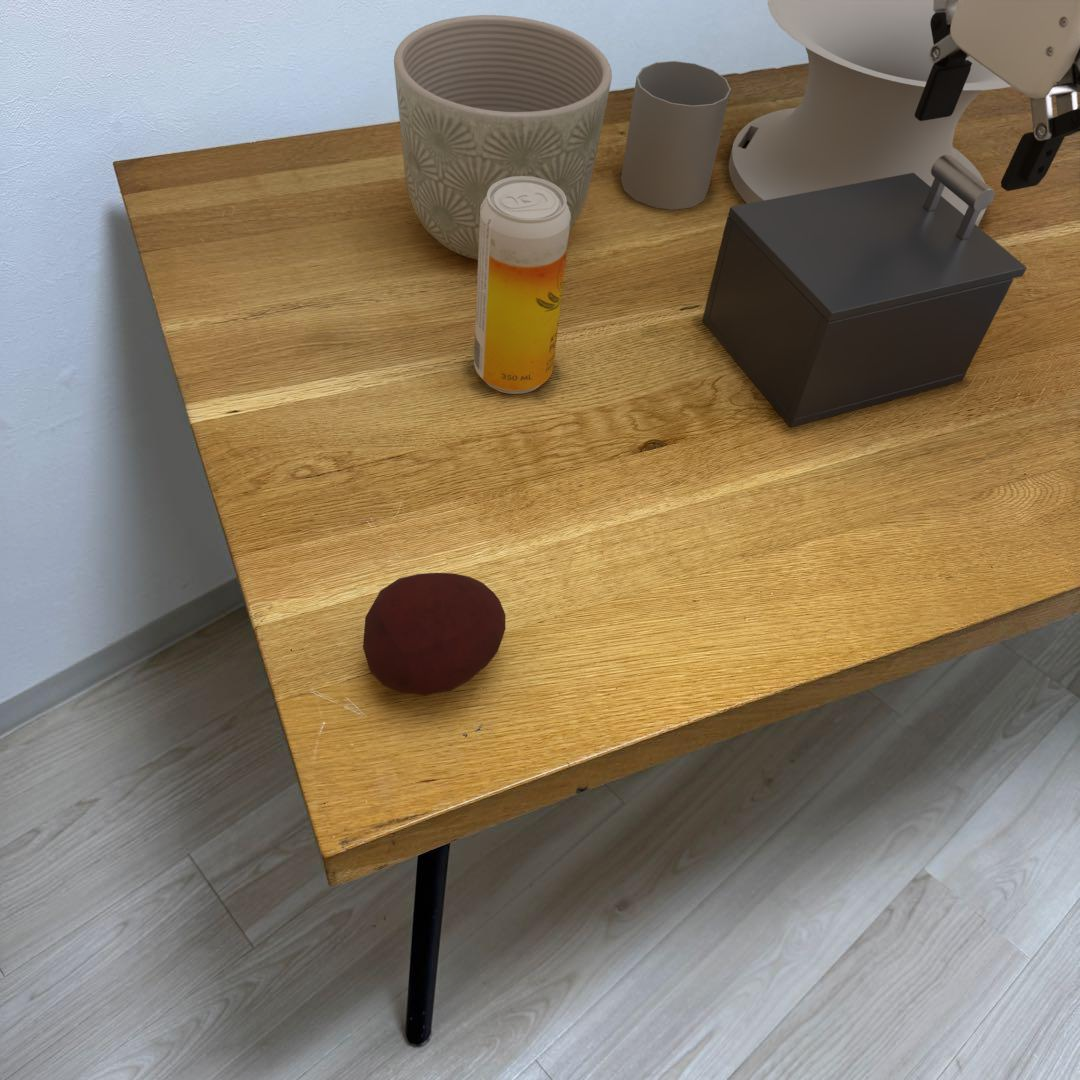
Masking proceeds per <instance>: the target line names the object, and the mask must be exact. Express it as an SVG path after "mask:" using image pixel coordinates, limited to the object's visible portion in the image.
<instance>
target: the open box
mask: <svg viewBox="0 0 1080 1080" xmlns="http://www.w3.org/2000/svg"><path fill="white" fill-rule="evenodd" d="M1013 281H1014V278H1013V279H1009V280H1004V281H1000V282H996V283H992V284H987V285H983V286H979V287H975V288H971V289H966V290H962V291H958V292H954V293H949V294H945V295H941V296H937V297H933V298H928V299H924V300H920V301H916V302H911V303H907V304H903V305H899V306H894V307H890V308H886V309H882V310H878V311H873V312H869V313H865V314H861V315H856V316H852V317H848V318H844V319H840V320H835V321H831V322H828V321H827V320H826V318H825V317H824V316H823V315H822V314H821V313H820V312H819V311H818V310H817V309H816V308H815V307H814V306H813V305H812V304H811V303H810V302H809V301H808V299H807V298H806V297H805V296H804V295H803V294H802V293H801V292H800V291H799V290H798V289H797V288H796V287H795V286H794V285H793V284H792V283H791V282H790V280H789V279H788V278H787V277H786V276H785V275H784V274H783V273H782V272H781V271H780V270H779V269H778V268H777V267H776V266H775V265H774V264H773V263H772V262H771V260H770V259H769V258H768V257H767V256H766V255H765V254H764V253H763V252H762V251H761V250H760V249H759V248H758V247H757V246H756V245H755V244H754V243H753V241H752V240H751V239H750V238H749V237H748V236H747V235H746V234H745V233H744V232H743V231H742V230H741V229H740V228H739V227H738V226H737V225H736V224H735V222H734V221H733V220H732V219H731V218H730V217H729V216H728V215H727V217H726V221H725V225H724V229H723V234H722V237H721V242H720V245H719V250H718V253H717V258H716V262H715V266H714V270H713V273H712V278H711V282H710V286H709V291H708V294H707V299H706V302H705V306H704V312H703V315H702V319H701V322H702V323H703V324H704V325H705V326H706V328H707V329H708V331H710V332H711V334H712V335H713V336H714V337H715V338H716V340H717V341H718V342H719V343H720V344H721V346H722V347H723V348H724V349H725V350H726V352H727V353H728V355H730V357H731V358H732V359H733V361H735V363H736V364H737V365H738V366H739V368H741V370H742V371H743V372H744V373H745V374H746V376H747V377H748V378H749V379H750V381H751V382H752V383H753V384H754V386H756V388H757V389H758V390H759V392H761V394H762V395H763V397H764V398H765V399H766V400H767V401H768V403H770V405H771V406H772V407H773V409H774V410H776V412H777V413H778V414H779V415H780V417H781V418H782V420H784V422H785V423H786V424H787V425H788V426H789V428H795V427H799V426H802V425H806V424H810V423H812V422H813V423H814V422H816V421H821V420H824V419H829V418H831V417H835V416H840V415H842V414H845V413H849V412H853V411H857V410H860V409H865V408H867V407H872V406H876V405H879V404H883V403H887V402H890V401H893V400H897V399H902V398H905V397H907V396H912V395H916V394H920V393H923V392H926V391H931V390H934V389H938V388H941V387H945V386H949V385H953V384H956V383H959V382H960V383H961V382H963V380H964V378H965V377H966V373H967V372H968V370H969V367H970V366H971V364H972V362H973V360H974V358H975V356H976V354H977V353H978V350H979V348H980V346H981V344H982V342H983V340H984V338H985V337H986V335H987V332H988V331H989V328H990V327H991V325H992V323H993V321H994V319H995V316H996V315H997V313H998V312H999V309H1000V307H1001V305H1002V303H1003V301H1004V299H1005V297H1006V295H1007V293H1008V291H1009V289H1010V287H1011V285H1012V283H1013Z"/></svg>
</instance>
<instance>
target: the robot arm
mask: <svg viewBox="0 0 1080 1080" xmlns="http://www.w3.org/2000/svg"><path fill="white" fill-rule="evenodd" d="M933 11H935V14H934V15H933V16H932V18H931V22H930V25H931V32H932V37H933V43H934V45H933V46H932V48H931V49H930V54H929V56H930V60H931V61H932V62H933V63H934V65H933V66H932V69H931V72H930V74H929V77H928V80H927V82H926V85H925V88H924V90H923V93H922V96H921V98H920V101H919V104H918V106H917V109H916V112H915V118H917V119H918V120H919V121H925V120H931V119H937V118H943V117H949V116H951V115H952V114H953V112H954V110H955V107H956V105H957V102H958V100H959V97H960V95H961V92H962V90H963V87H964V85H965V83H966V80H967V78H968V75H969V73H970V70H971V65H972V63H971V62H970V61H969V60H966V58H967V57H969V56H970V57H971V58H973V59H974V60H976V61H977V62H978V63H980V64H981V65H982V66H984V67H985V68H986V69H988V70H989V71H991V72H992V73H993V74H995V75H996V76H998V77H999V78H1001V79H1002V80H1003V81H1005V82H1006V83H1008V84H1009V85H1010V86H1011V87H1012V88H1013V89H1014V90H1016V91H1017V92H1019V93H1021V94H1022V95H1024V96H1026V97H1028V98H1030V99H1029V100H1030V109H1031V120H1032V121H1031V122H1032V131H1030V132H1026V133H1024V134H1023V135H1022V136H1021V137H1020V140H1019V142H1018V144H1017V146H1016V148H1015V150H1014V153H1013V155H1012V157H1011V159H1010V161H1009V164H1008V165H1007V168H1006V169H1005V171H1004V174H1003V176H1002V177H1001V180H1000V187H1001V188H1002V189H1003V190H1004V191H1005V192H1011V191H1015V190H1020V189H1025V188H1031V187H1035V186H1038V185H1039V184H1040V183H1041V182H1042V180H1043V179H1044V178H1045V176H1046V175H1047V174H1048V172H1049V169H1050V167H1051V166H1052V163H1053V161H1054V159H1055V157H1056V156H1057V154H1058V151H1059V149H1060V147H1061V146H1062V143H1063V142H1064V140H1065V138H1066V137H1071V136H1074V135H1075V134H1077V133H1079V132H1080V105H1079V99H1078V98H1079V97H1078V93H1080V0H934V3H933ZM1053 98H1055V101H1056V113H1057V114H1056V115H1057V116H1054V110H1053Z"/></svg>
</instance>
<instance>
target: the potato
mask: <svg viewBox="0 0 1080 1080" xmlns="http://www.w3.org/2000/svg"><path fill="white" fill-rule="evenodd" d="M363 629H364V630H363V641H362V649H363V653H364V656H365V660H366V663H367V667H368V669H369V672H370V674H372V676H373V677H374V678H375V679H377V681H378V682H379V684H381V685H382V686H384V687H386V688H389V689H391V690H393V691H395V692H398V693H400V694H407V695H408V694H409V695H416V696H417V695H418V696H431V695H435V694H441V693H447V692H451V691H453V690H455V689H457V688H459V687H461V686H462V685H463V684H466V683H468V682H469V681H471V680H472V679H473V678H474V677H475V676H476V675H478V674H479V673H480V672H481V671H482V670H484V669H485V668H486V667H487V666H488V665H489V664H490V662H491V661H492V660H493V659H494V657H496V655H497V654H498V651H499V650H500V646H501V644H502V640H503V637H504V635H505V631H506V613H505V610H504V607H503V605H502V602H501V600H500V598H499V597H498V596H497V595H496V593H495V592H494V591H493V590H491V589H490V588H489V587H488V586H487V585H486V584H485V583H484V582H482V581H479V579H478V580H477V579H476V578H473V577H471V576H468V575H463V574H460V573H459V574H458V573H452V572H425V573H416V574H412V575H407V576H403V577H399V578H397V579H396V580H394V581H393V582H391V583H390V584H388V585H386V586H385V587H384V588H382V589H381V590H379V592H378V594H377V595H376V598H375V599H374V601H373V603H372V604H371V606H370V608H369V610H368V612H367V613H366V615H365V618H364V628H363Z"/></svg>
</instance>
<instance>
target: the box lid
mask: <svg viewBox="0 0 1080 1080" xmlns="http://www.w3.org/2000/svg"><path fill="white" fill-rule="evenodd" d="M931 174H932V176H933V177H935V178H934V181H933V183H932V186H931V187H930V186H929V185H928V184H927V183H925V182H924V181H923V180H922V179H921V178H919V177H918V176H917V175H916V174H915V173H909V174H904V175H898V176H893V177H887V178H882V179H877V180H871V181H866V182H861V183H855V184H850V185H845V186H839V187H834V188H828V189H823V190H818V191H812V192H807V193H802V194H796V195H791V196H785V197H780V198H775V199H769V200H764V201H759V202H753V203H748V204H747V203H743V204H737V205H733V206H732V205H731V206H730V207H729V209H728V214H727V217H728V216H729V217H730V218H731V219H732V220H733V221H734V222H735V224H736V225H737V226H738V227H739V228H740V229H741V230H742V231H743V232H744V233H745V234H746V235H747V236H748V237H749V238H750V239H751V240H752V241H753V243H754V244H755V245H756V246H757V247H758V248H759V249H760V250H761V251H762V252H763V253H764V254H765V255H766V256H767V257H768V258H769V259H770V260H771V262H772V263H773V264H774V265H775V266H776V267H777V268H778V269H779V270H780V271H781V272H782V273H783V274H784V275H785V276H786V277H787V278H788V279H789V280H790V282H791V283H792V284H793V285H794V286H795V287H796V288H797V289H798V290H799V291H800V292H801V293H802V294H803V295H804V296H805V297H806V298H807V299H808V301H809V302H810V303H811V304H812V305H813V306H814V307H815V308H816V309H817V310H818V311H819V312H820V313H821V314H822V315H823V316H824V317H825V318H826V320H827V321H828V322H831V321H835V320H840V319H844V318H848V317H852V316H856V315H861V314H865V313H869V312H873V311H878V310H882V309H886V308H890V307H894V306H899V305H903V304H907V303H911V302H916V301H920V300H924V299H928V298H933V297H937V296H941V295H945V294H949V293H954V292H958V291H962V290H966V289H971V288H975V287H979V286H983V285H987V284H992V283H996V282H1000V281H1004V280H1009V279H1013V280H1014V279H1017V278H1022V277H1023V276H1024V274H1025V273H1026V270H1027V266H1026V265H1024V263H1022V262H1021V261H1020V260H1019V259H1017V257H1015V256H1014V255H1013V254H1011V253H1010V252H1009V251H1008V250H1006V248H1004V247H1003V246H1002V245H1001V244H1000V243H999V242H997V241H996V240H994V239H993V238H992V237H991V236H990V235H989V234H987V233H986V232H985V231H984V230H983V229H981V228H980V227H979V225H978V226H977V225H976V224H975V223H976V220H977V218H978V216H979V214H980V212H981V211H982V210H984V209H985V208H986V207H987V208H988V207H989V206H990V205H991V204H992V203H993V201H994V199H995V195H996V193H995V192H996V191H995V190H994V189H993V188H992V187H991V186H990V185H988V184H987V183H986V182H985V181H984V182H985V183H984V182H983V181H982V180H981V179H979V178H978V177H977V176H976V175H974V174H973V173H972V172H971V171H969V170H968V169H967V168H966V167H964V166H963V165H962V164H961V163H959V162H958V161H957V160H956V159H954V158H953V157H952V156H951V155H943V156H941V157H940V158H938V159H937V160H936V161H935V163H934V164H933V166H932V169H931ZM944 187H947V188H948V189H949V190H950V191H952V192H953V193H954V194H955V195H956V196H958V197H959V198H960V199H961V200H962V201H964V202H965V203H966V204H967V205H968V209H967V211H966V213H965V215H964V214H962V213H961V212H960V211H959V210H958V209H956V208H955V207H954V206H953V205H952V204H950V203H949V202H948V201H947V200H946V199H944V198H943V197H942V196H941V195H942V192H943V190H944ZM987 208H986V209H987Z"/></svg>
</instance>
